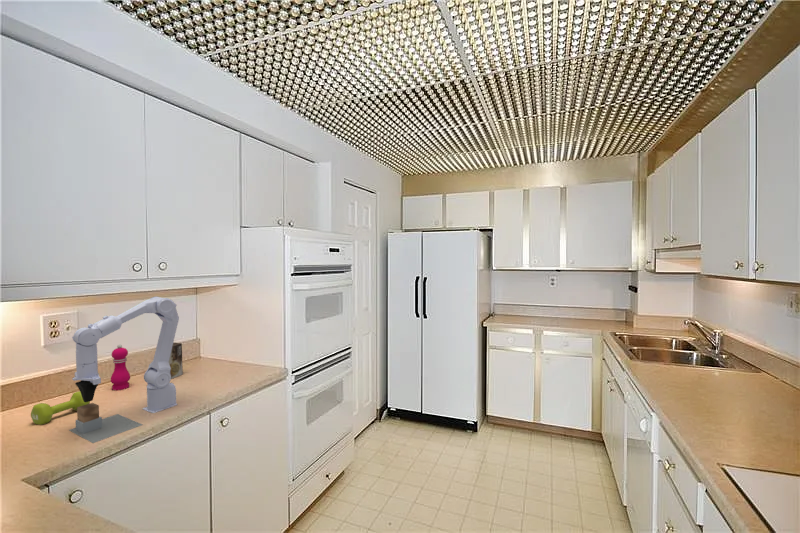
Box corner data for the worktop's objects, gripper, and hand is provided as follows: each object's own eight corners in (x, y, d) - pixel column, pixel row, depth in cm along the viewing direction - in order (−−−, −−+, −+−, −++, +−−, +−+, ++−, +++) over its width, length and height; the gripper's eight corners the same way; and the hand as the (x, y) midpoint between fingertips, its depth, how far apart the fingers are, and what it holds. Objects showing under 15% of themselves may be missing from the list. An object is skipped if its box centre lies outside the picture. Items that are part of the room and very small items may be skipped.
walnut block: (92, 415, 136) (92, 402, 135) (99, 417, 133) (98, 405, 133) (77, 420, 132) (77, 407, 131) (83, 422, 129) (83, 409, 129)
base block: (94, 423, 136) (94, 414, 136) (102, 427, 134) (101, 417, 134) (75, 430, 132) (75, 420, 132) (83, 433, 129) (82, 423, 129)
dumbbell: (79, 406, 153) (78, 389, 152) (92, 409, 150) (92, 391, 150) (28, 424, 137) (27, 404, 137) (42, 427, 134) (41, 407, 134)
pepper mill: (108, 391, 168) (106, 347, 168) (114, 386, 175) (113, 343, 174) (127, 389, 171) (126, 345, 170) (132, 384, 178) (131, 342, 177)
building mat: (117, 414, 145) (117, 413, 145) (143, 425, 136) (143, 424, 136) (68, 431, 132) (68, 430, 132) (93, 444, 123) (93, 443, 123)
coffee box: (172, 373, 194) (172, 342, 193) (183, 374, 192) (182, 342, 191) (157, 379, 185) (156, 346, 184) (168, 380, 183) (167, 347, 183)
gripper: (63, 362, 132) (64, 400, 132) (82, 368, 125) (83, 409, 125) (87, 357, 138) (89, 394, 139) (107, 363, 131) (108, 402, 131)
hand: (88, 401), depth 132 cm, fingers closed
